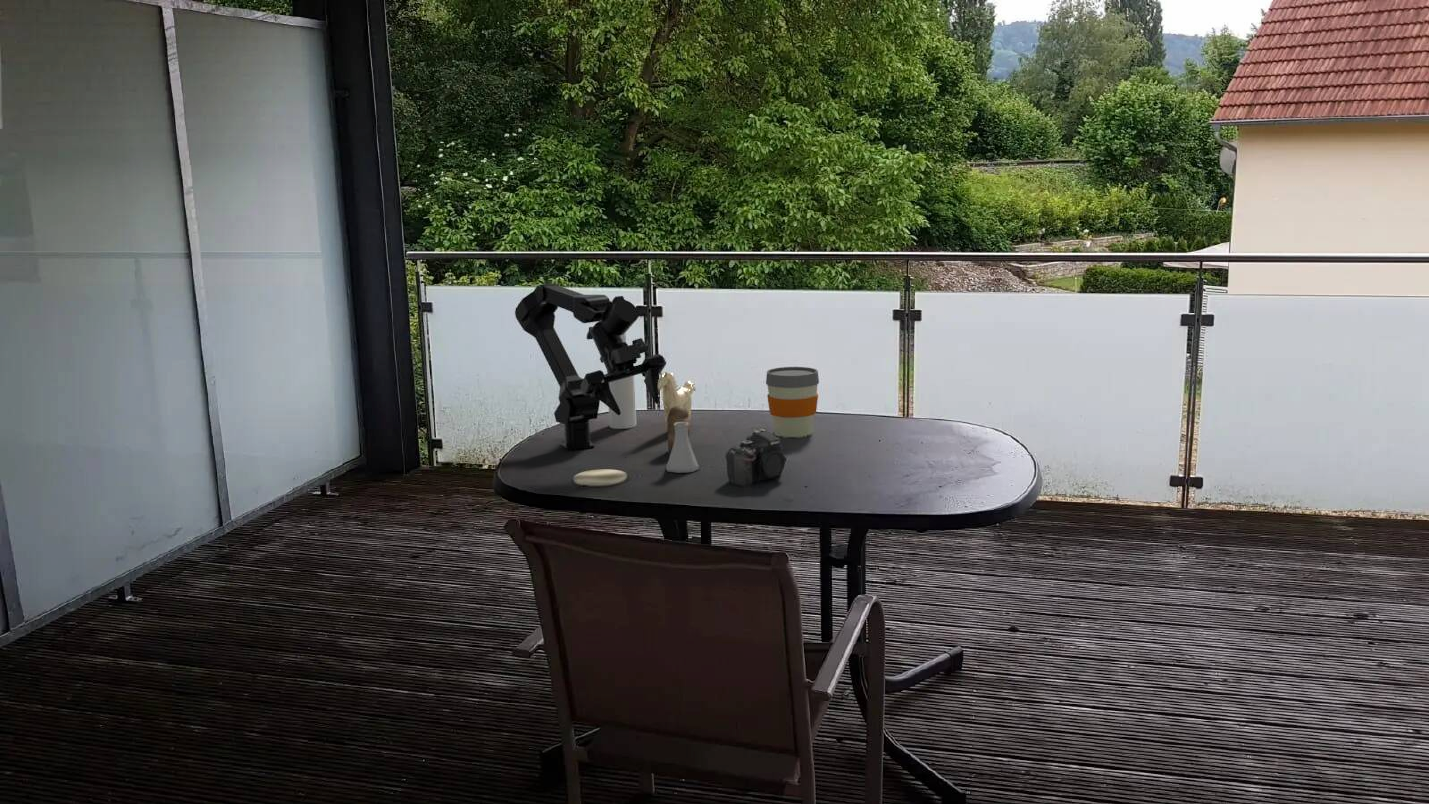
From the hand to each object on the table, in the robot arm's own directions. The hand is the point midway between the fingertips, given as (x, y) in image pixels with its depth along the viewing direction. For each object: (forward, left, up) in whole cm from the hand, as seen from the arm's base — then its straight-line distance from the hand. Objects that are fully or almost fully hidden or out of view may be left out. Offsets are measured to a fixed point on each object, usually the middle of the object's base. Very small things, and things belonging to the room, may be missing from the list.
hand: (638, 408), depth 245 cm
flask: (+7, +7, -13) cm, 16 cm away
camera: (+21, +19, -13) cm, 31 cm away
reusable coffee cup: (-13, +41, -13) cm, 45 cm away
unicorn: (-28, +17, -13) cm, 35 cm away
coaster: (+7, -11, -12) cm, 18 cm away
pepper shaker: (-8, +11, -12) cm, 18 cm away
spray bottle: (-39, +6, -13) cm, 41 cm away
